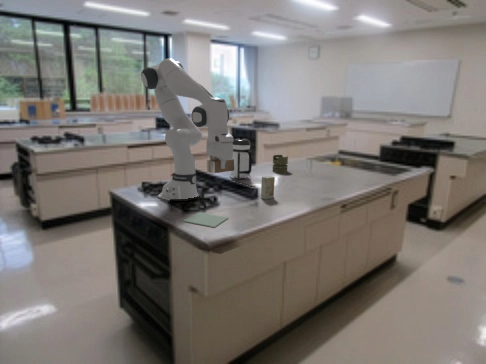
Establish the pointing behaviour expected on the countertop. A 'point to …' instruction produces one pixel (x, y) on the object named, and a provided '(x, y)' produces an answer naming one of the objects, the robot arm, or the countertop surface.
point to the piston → (280, 164)
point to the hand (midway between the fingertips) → (219, 167)
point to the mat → (206, 219)
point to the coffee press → (241, 158)
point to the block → (214, 166)
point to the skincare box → (267, 187)
